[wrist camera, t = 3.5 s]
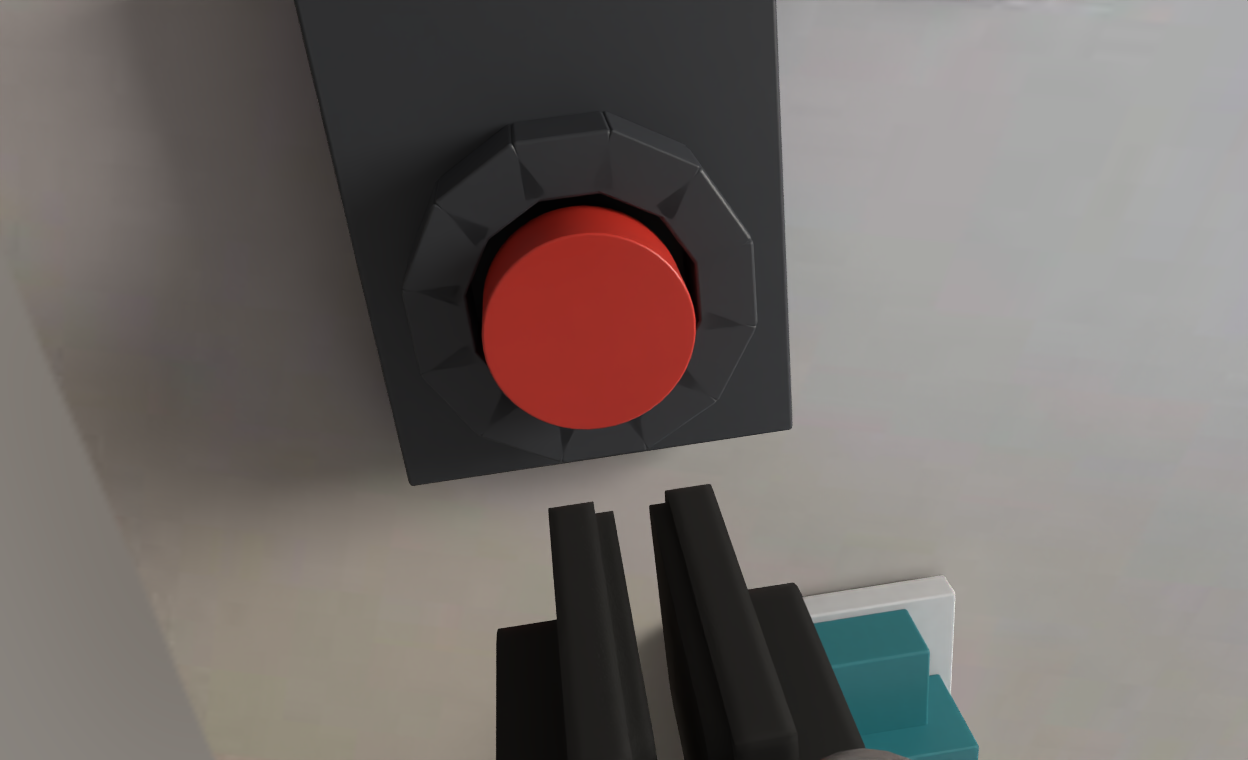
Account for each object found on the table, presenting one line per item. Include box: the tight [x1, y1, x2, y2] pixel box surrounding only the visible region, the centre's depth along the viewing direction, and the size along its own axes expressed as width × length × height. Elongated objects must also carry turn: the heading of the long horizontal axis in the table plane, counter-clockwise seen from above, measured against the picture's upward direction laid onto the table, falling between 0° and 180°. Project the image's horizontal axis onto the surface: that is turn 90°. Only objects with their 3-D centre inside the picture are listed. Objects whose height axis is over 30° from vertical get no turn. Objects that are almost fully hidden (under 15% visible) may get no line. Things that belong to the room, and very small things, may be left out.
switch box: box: [294, 0, 792, 486], centre depth 22 cm, size 12×9×4 cm
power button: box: [482, 205, 696, 429], centre depth 20 cm, size 4×4×2 cm
